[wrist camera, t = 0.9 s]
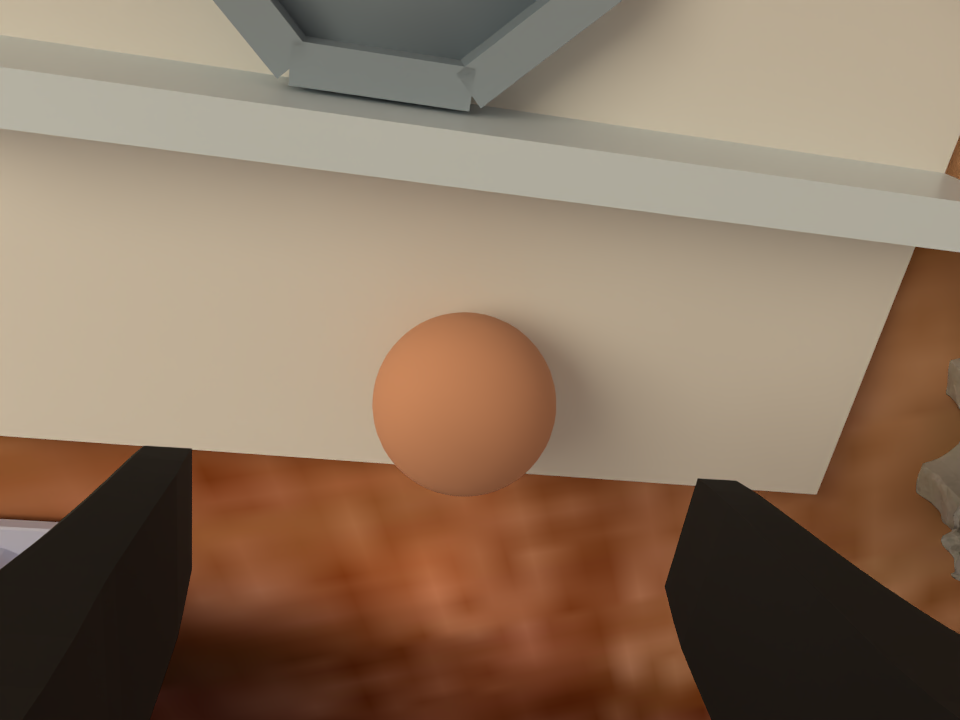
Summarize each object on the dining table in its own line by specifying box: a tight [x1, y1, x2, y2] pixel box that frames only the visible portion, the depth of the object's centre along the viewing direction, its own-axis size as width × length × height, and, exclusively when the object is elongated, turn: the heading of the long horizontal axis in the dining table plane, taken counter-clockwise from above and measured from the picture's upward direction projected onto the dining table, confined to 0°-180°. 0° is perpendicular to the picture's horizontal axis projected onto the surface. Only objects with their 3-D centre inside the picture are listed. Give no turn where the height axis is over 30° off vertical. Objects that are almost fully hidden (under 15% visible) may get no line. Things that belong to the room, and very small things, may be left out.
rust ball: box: [372, 312, 556, 496], centre depth 19 cm, size 4×4×4 cm
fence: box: [0, 35, 960, 252], centre depth 17 cm, size 1×23×3 cm, turn 81°
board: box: [0, 0, 960, 495], centre depth 18 cm, size 18×23×1 cm
